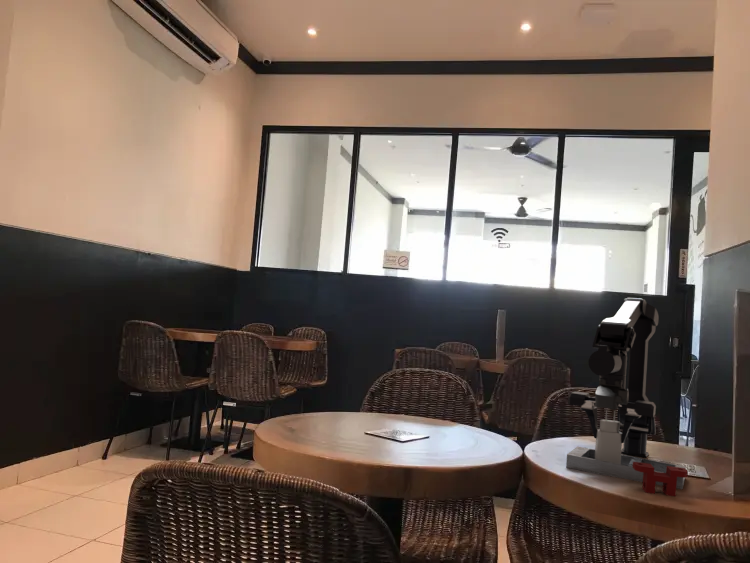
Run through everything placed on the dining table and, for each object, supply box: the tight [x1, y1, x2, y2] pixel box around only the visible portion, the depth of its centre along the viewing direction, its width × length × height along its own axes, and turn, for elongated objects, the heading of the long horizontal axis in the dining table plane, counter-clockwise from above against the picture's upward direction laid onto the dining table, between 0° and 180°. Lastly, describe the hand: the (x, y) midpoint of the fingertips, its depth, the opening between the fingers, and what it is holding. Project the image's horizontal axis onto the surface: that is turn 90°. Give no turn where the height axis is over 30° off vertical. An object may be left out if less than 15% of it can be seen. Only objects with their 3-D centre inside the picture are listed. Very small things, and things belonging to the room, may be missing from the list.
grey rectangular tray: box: [565, 445, 687, 490], centre depth 134 cm, size 12×24×3 cm, turn 59°
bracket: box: [633, 462, 689, 497], centre depth 118 cm, size 3×6×10 cm
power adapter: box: [594, 410, 623, 464], centre depth 136 cm, size 3×5×12 cm, turn 82°
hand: (608, 440), depth 136 cm, fingers closed on power adapter, 6 cm apart
